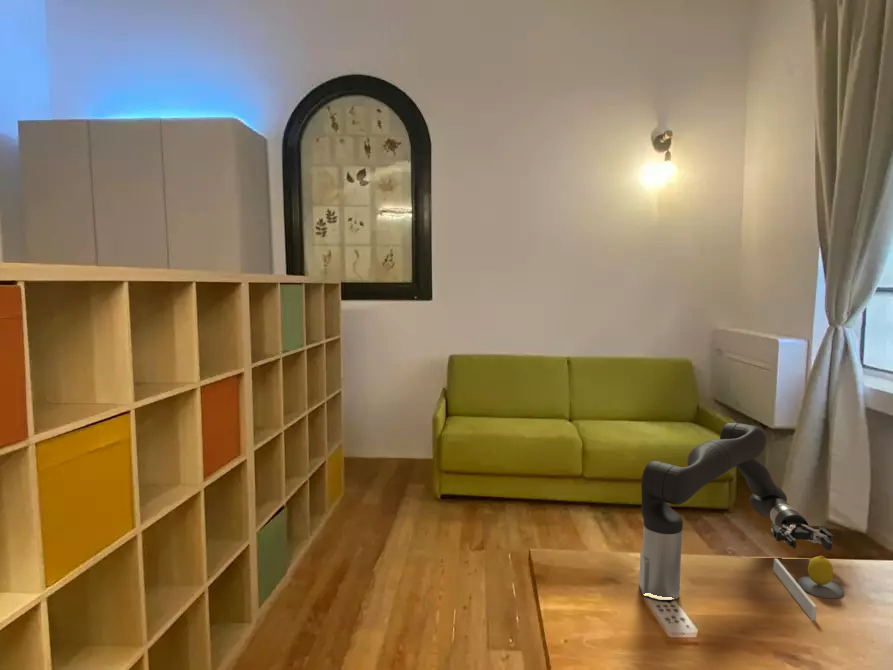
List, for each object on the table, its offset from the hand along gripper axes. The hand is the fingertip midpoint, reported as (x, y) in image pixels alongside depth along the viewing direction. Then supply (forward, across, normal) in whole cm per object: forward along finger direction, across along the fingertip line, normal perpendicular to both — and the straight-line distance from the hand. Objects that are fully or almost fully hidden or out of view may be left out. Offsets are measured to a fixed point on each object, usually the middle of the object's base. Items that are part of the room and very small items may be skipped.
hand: (812, 545), depth 165 cm
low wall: (+11, -8, +8) cm, 16 cm away
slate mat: (+7, 0, +8) cm, 11 cm away
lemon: (+7, 0, +8) cm, 10 cm away
